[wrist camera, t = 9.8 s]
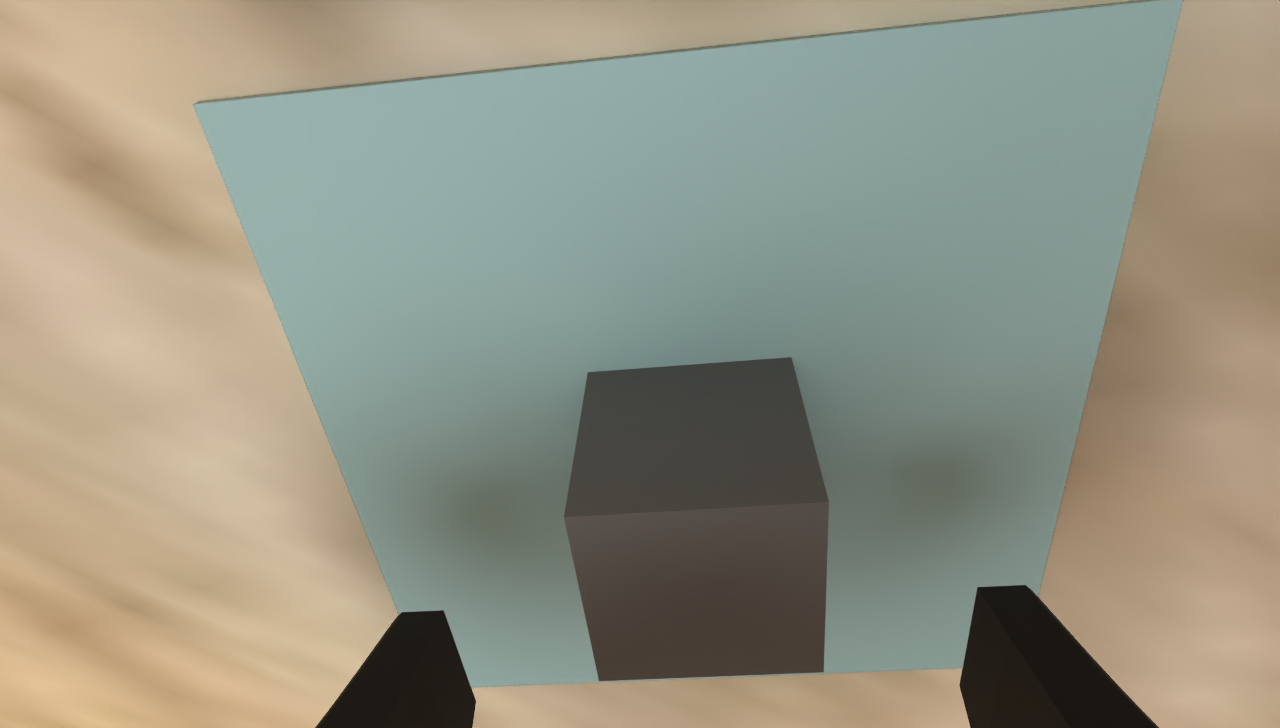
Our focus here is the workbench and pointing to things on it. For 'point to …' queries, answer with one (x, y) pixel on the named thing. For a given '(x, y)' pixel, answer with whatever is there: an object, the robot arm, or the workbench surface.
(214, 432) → the workbench surface
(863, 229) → the teal lid
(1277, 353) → the workbench surface
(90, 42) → the workbench surface
